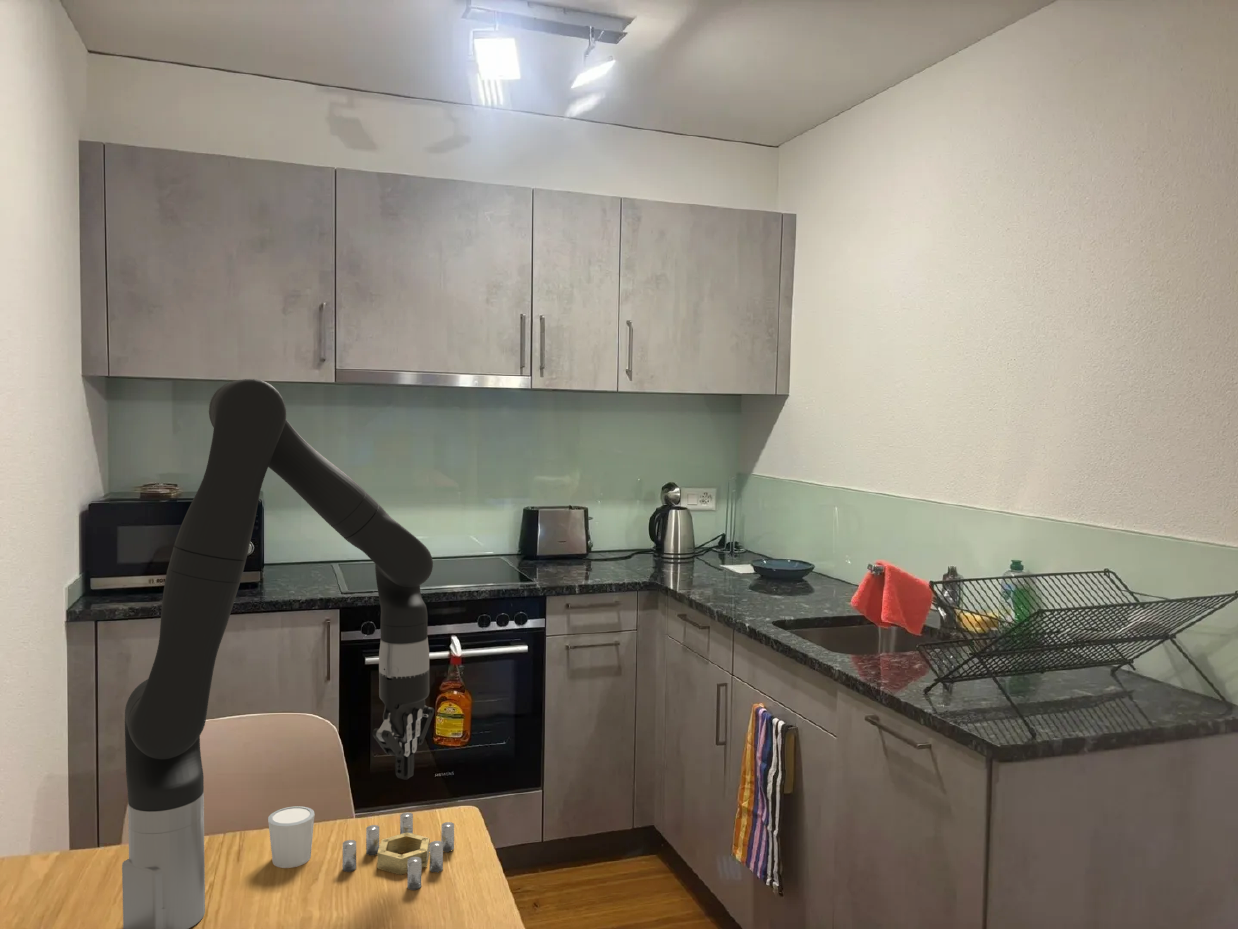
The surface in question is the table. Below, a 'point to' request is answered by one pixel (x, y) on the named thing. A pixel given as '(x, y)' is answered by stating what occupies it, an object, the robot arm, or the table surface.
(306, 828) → the white cup
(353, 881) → the table surface
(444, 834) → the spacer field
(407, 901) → the table surface
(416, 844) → the tan hexagonal ring
